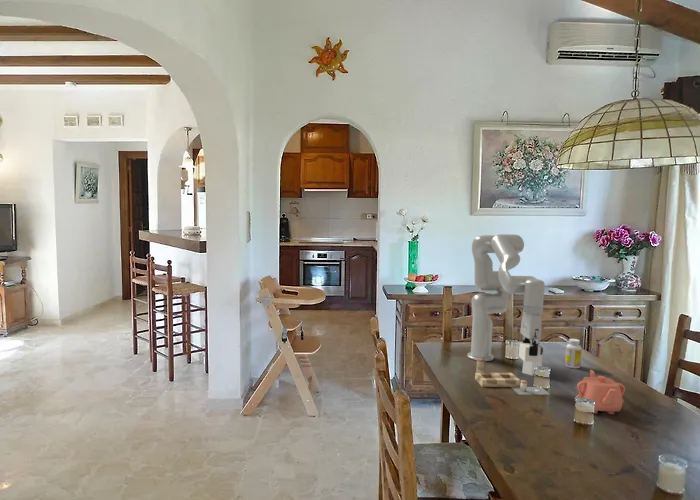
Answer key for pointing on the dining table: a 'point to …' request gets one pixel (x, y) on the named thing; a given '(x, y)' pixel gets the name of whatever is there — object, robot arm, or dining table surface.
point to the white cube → (525, 353)
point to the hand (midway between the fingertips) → (529, 352)
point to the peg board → (497, 380)
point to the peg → (480, 365)
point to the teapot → (602, 392)
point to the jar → (532, 365)
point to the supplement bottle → (573, 354)
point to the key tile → (529, 389)
